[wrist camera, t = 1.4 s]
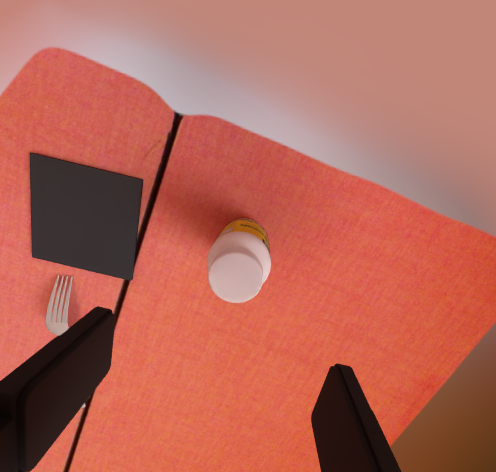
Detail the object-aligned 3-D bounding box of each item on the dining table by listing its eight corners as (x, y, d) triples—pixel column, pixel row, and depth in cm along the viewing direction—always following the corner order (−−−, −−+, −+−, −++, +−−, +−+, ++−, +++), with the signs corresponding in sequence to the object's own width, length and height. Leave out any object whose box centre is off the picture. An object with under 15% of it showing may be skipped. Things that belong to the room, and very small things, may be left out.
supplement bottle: (278, 243, 26) (288, 284, 17) (242, 272, 27) (232, 325, 18) (246, 206, 25) (238, 227, 16) (210, 238, 26) (182, 275, 17)
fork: (81, 389, 37) (67, 407, 34) (54, 273, 29) (33, 286, 26) (99, 391, 36) (86, 410, 34) (76, 276, 29) (58, 290, 26)
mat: (32, 152, 25) (29, 152, 25) (143, 179, 25) (141, 179, 25) (35, 256, 28) (31, 257, 28) (132, 279, 28) (130, 280, 28)
